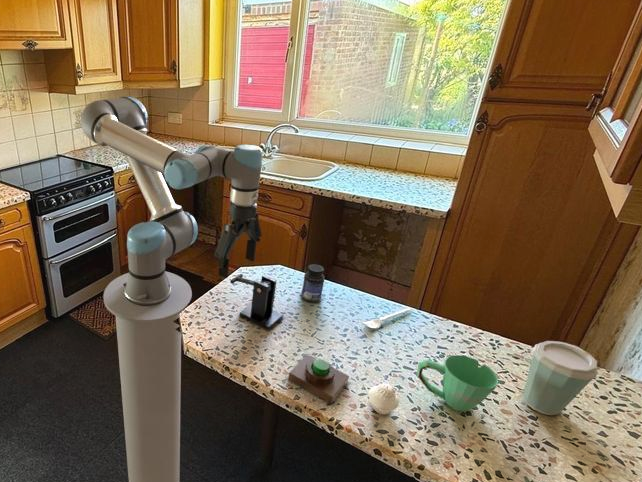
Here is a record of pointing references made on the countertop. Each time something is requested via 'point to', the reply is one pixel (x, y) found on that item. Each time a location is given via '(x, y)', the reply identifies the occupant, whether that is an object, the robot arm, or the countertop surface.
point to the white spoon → (383, 319)
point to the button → (320, 367)
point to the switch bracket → (262, 305)
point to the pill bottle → (313, 283)
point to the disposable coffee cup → (557, 376)
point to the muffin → (383, 398)
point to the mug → (461, 381)
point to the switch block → (318, 379)
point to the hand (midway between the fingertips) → (236, 267)
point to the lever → (248, 281)
